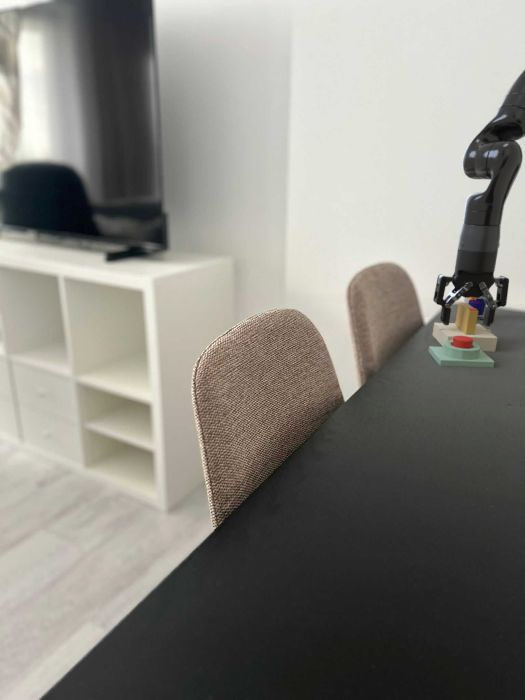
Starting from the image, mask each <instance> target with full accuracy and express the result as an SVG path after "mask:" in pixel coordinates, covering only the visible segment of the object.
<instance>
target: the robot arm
mask: <svg viewBox="0 0 525 700" xmlns="http://www.w3.org/2000/svg"><path fill="white" fill-rule="evenodd" d="M524 137H525V69H524V70H522V71H521V73H520V74H519V75H518V77H517V78H516V79H515V81H513V83H512V85H511V86H510V88H509V89H508V90H507V92H506V94H505V95H504V97H503V99H502V101H501V103H500V105H499V107H498V108H497V110H496V112H495V114H494V116H493V117H492V119H491V120H489V121H488V122H487V124H485V125H484V127H483V128H482V129H481V130H480V131H479V132H478V133H477V135H476V136H475V137H473V139H472V140H471V141H470V143H468V145H467V147H466V148H465V151H464V154H463V156H462V160H461V167H462V171H463V174H464V175H465V176H466V177H467V178H469V179H472V180H485V181H486V180H489V183H488V185H487V186H486V188H485V190H482V191H479V192H473V193H471V194H470V195H468V196H467V198H466V201H465V206H464V212H463V219H462V226H461V229H460V233H459V239H458V245H457V252H456V259H455V265H454V272H453V275H444V274H442V273H441V274H438V275H437V279H436V283H435V288H434V289H435V290H434V294H433V299H432V301H433V302H434V303H435V304H436V305H438V306H441V311H440V317H439V319H440V321H441V323H443V324H444V325H449V323H450V322H451V321H450V320H451V314H452V308H451V307H452V306H453V304H455V302H457V301H459V300H460V299H461V298H462V297H463V298H464V299H465V298H469V297H475V298H480V297H482V298H483V300H484V301H485V303H486V305H487V306H486V307H485V313H484V318H483V319H482V326H484V327H491V325H492V324H493V323H494V321H495V314H496V310H497V309H498V308H500V307H504V308H505V307H506V306H507V303H508V302H507V301H508V295H509V285H510V279H509V277H506V276H504V275H499V276H498V277H497V276H496V277H495V275H494V273H495V270H496V266H497V265H496V264H497V258H498V253H499V248H500V244H501V243H500V240H501V228H502V220H503V216H504V215H503V214H504V208H505V204H506V202H507V199H508V197H509V194H510V192H511V190H512V187H513V186H514V183H515V181H516V179H517V177H518V174H519V173H520V170H521V168H522V164H523V159H524V157H523V150H522V147H521V144H519V142H517V141H519V140H521V139H523V138H524ZM450 283H452V285H453V287H452V289H450V291H449V292H448V294H447V295H446V296H445V292H446V287H448V286H449V285H450ZM493 285H495V287H496V297H495V299H494V297H493V295H492V293H491V292H490V289H491V288H492V286H493ZM489 288H490V289H489ZM444 296H445V297H444Z"/></svg>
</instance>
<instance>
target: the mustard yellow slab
mask: <svg viewBox="0 0 525 700" xmlns="http://www.w3.org/2000/svg"><path fill="white" fill-rule="evenodd" d="M457 304H458V305H457V310H456V311H457V312H456V318H455V322H456V323H455V322H454V323H455V325H456V326H457V327H458V328H459V329H460V330H462V331H463V332H464V333H465V334H471V335H474V334H475V328H476V324H477V321H478V320H477V316H478V311H477V309H475V308H473V307H472V306H471V305H469V304H468V303H464V302H458V303H457Z"/></svg>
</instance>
